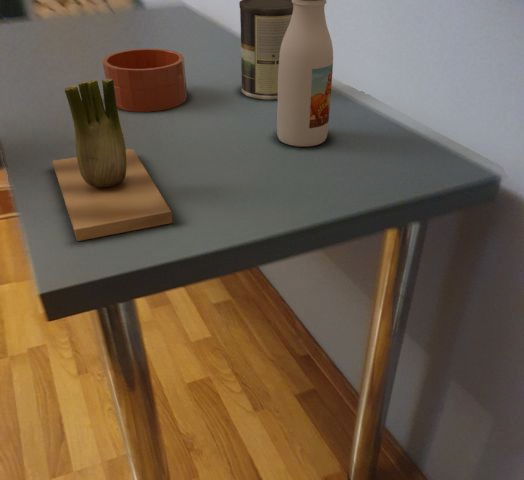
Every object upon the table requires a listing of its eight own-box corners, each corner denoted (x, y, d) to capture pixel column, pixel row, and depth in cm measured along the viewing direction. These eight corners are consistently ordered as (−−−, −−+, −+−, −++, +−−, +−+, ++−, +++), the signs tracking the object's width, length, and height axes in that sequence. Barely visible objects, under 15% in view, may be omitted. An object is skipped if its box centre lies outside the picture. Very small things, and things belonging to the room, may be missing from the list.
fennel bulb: (129, 173, 70) (113, 72, 62) (132, 190, 67) (115, 85, 59) (83, 178, 69) (60, 76, 61) (84, 195, 66) (60, 89, 58)
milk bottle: (290, 151, 80) (296, -11, 67) (268, 133, 85) (270, -20, 72) (336, 143, 82) (351, -15, 69) (312, 126, 88) (321, -24, 74)
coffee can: (230, 94, 99) (227, 3, 90) (258, 79, 106) (258, -6, 97) (280, 103, 96) (282, 10, 86) (306, 88, 102) (311, -1, 93)
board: (54, 171, 74) (51, 160, 73) (134, 158, 78) (132, 148, 77) (77, 241, 61) (74, 229, 60) (172, 223, 64) (171, 211, 63)
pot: (93, 100, 96) (85, 60, 92) (150, 82, 104) (145, 44, 100) (146, 117, 90) (140, 75, 86) (202, 97, 98) (200, 57, 94)
